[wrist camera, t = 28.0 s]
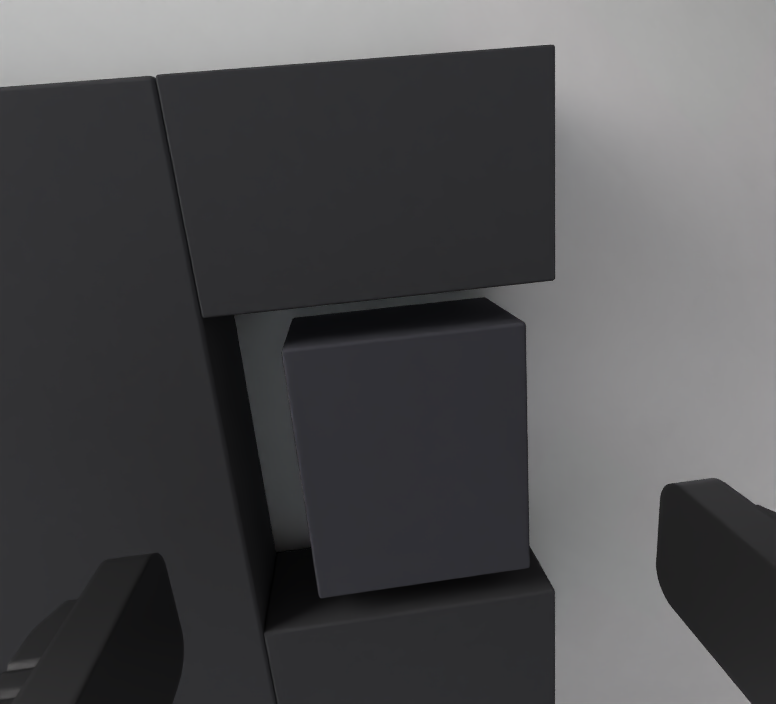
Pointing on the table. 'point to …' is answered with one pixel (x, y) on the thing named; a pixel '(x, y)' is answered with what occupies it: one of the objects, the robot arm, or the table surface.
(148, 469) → the big notched pad
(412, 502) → the small black box
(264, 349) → the table surface
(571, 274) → the table surface
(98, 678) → the robot arm
